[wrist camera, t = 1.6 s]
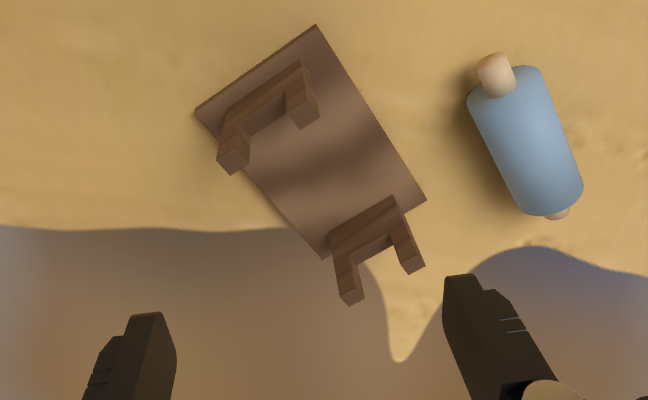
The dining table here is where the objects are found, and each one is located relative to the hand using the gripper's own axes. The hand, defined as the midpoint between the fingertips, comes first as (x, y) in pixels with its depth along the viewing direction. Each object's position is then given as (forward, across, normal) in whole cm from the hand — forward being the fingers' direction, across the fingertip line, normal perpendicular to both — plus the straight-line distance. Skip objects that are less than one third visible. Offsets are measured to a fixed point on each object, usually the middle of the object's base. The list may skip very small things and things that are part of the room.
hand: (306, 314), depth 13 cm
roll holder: (+22, -2, +6) cm, 23 cm away
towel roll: (+22, -17, +6) cm, 28 cm away
